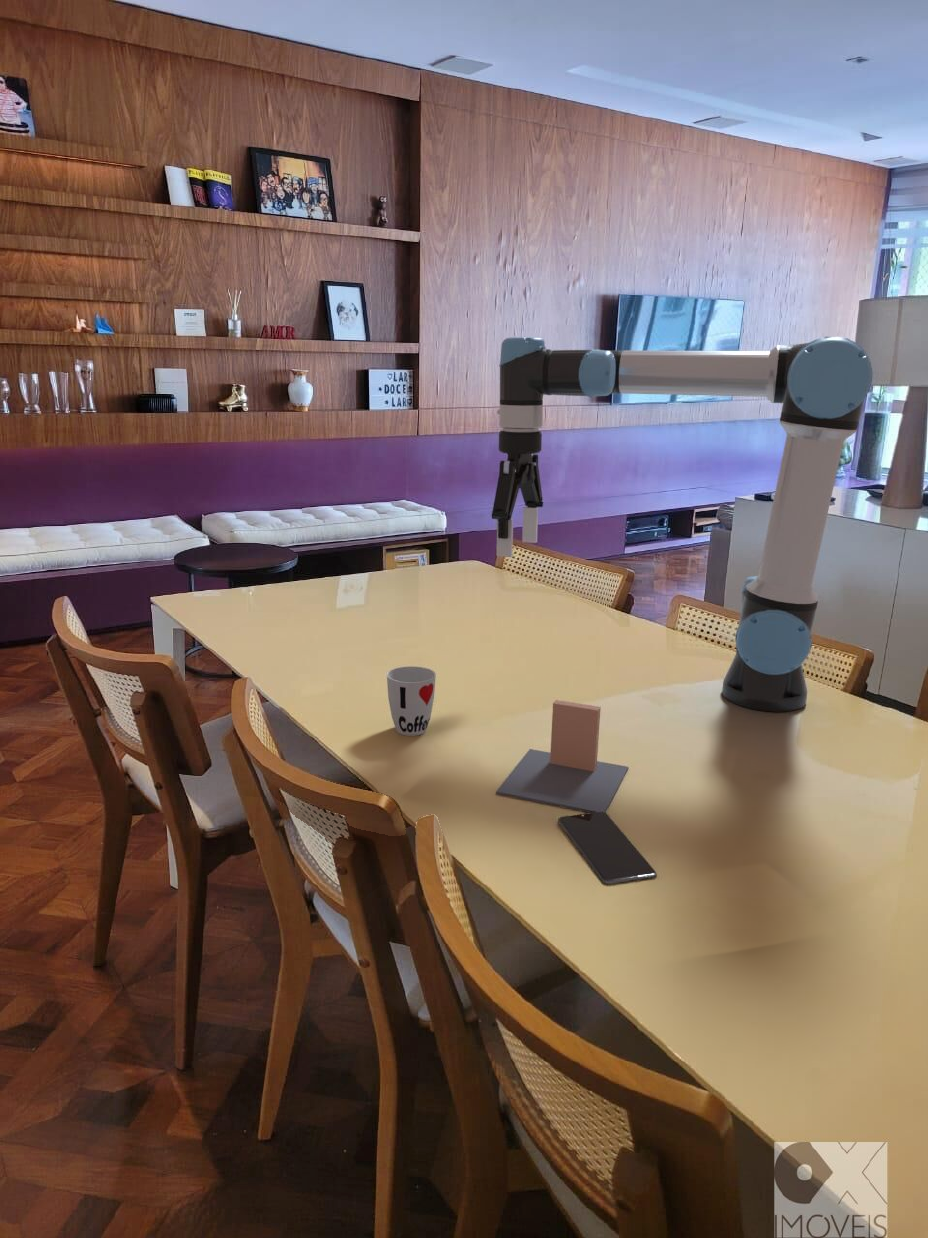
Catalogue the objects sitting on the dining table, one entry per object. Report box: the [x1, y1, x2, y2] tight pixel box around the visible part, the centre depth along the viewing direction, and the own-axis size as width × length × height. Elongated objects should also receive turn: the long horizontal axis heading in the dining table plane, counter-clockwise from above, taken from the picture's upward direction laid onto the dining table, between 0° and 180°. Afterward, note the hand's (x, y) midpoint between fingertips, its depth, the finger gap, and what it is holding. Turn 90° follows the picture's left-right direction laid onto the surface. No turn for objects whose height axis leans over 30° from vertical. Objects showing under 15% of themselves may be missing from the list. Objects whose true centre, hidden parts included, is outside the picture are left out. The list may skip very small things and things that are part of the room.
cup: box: [386, 665, 437, 737], centre depth 152 cm, size 8×8×10 cm
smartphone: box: [557, 812, 658, 886], centre depth 118 cm, size 7×1×16 cm
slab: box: [550, 699, 601, 771], centre depth 139 cm, size 7×2×10 cm, turn 68°
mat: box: [495, 748, 630, 813], centre depth 136 cm, size 16×16×1 cm
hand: (517, 549), depth 165 cm, fingers open, 13 cm apart
